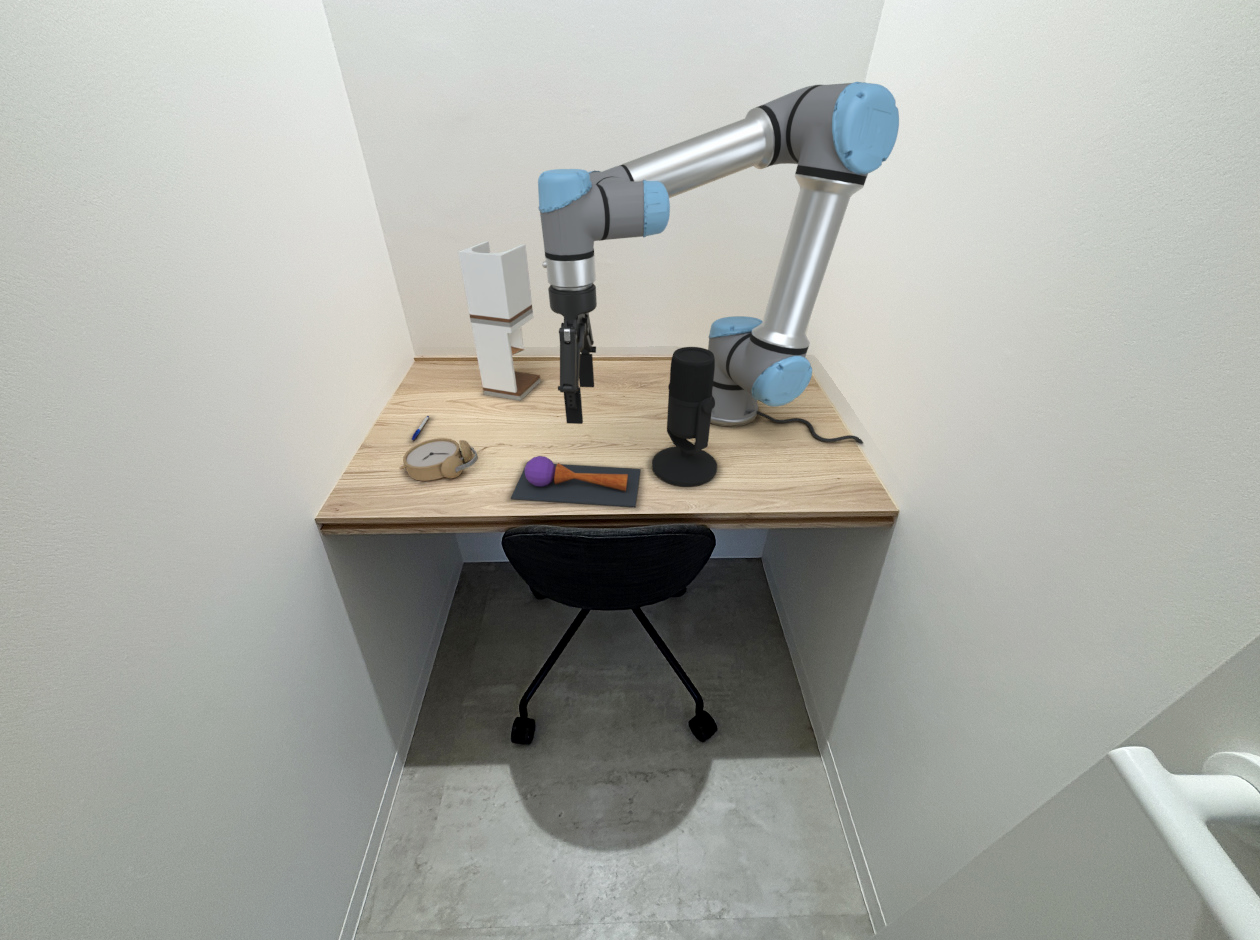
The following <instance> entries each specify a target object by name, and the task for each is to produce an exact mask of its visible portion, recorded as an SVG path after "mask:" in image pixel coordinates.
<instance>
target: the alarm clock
mask: <svg viewBox="0 0 1260 940" xmlns="http://www.w3.org/2000/svg"><path fill="white" fill-rule="evenodd" d="M473 454H474V456H473V458H472V455H473ZM463 461H464V462H465V463H463ZM477 461H478V453H477V451H476V450H475V448H474V447H472V446H471V445H470V443H469V442H468V441H467V440H464V439H459V440H458V442H457V440H455V439H452V438H445V437H437V438H432V439H427V440H424V441H422V442H419V443H417V444H415V445H413V446H412V447H410V448H409V449H408V450H407V451H406V452H405V453H404V455H403V457H402V463H403V464H404V465H402V466H400V467H399V470H405V469H406V472H407V474H408V476H409V477H410V479H413V480H416V481H422V482H425V481H435V480H438V479H442V478H444V477H445V478H446V479H456V478H458V477H459V476H460V475H461V474H462V472H463V470H464V469H468V468H470V467H472V466H473V465H474V464H476V462H477Z"/></svg>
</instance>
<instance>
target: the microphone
mask: <svg viewBox="0 0 1260 940" xmlns="http://www.w3.org/2000/svg"><path fill="white" fill-rule="evenodd" d="M670 360H671V361H670V371H669V383H668V387H667V388H668V398H667V400H668V401H667V416H666V417H667V418H666V432H667V434H668V436H669V438H670V440H671V442H672V444H673V446H669V447H666V448H664V449H661V450H660V451H658V452H657V453H656V454H655V455H654V456H653V458H652V461H651V469H652V472H653V474H654V475H655V476H656V477H657V478H658V479H659V480H661V481H662V482H664V483H666V484H669V485H671V486H675V487H681V488H692V487H699V486H702V485H705V484H708V483H710V482H711V481H712V480H713V479H714V478H715V477H716V475H717V472H718V463H717V461H716V459H715V457H714V456H712V455H711V454H710V453H709V452H707V451H706V450H705V449H707V448H708V446H709V438H710V437H709V436H710V429H711V423H710V422H711V413H712V409H713V408H714V407H715V399H714V397H713V396H712V389H713V380H714V370H715V358H714V354H713V353H712V352H711V351H709V350H708V348H704V347H700V346H683V347H679V348H677V349H676V350H674V351H673V353H672V356H671V359H670ZM693 439H694V443H693V442H691V441H690V440H693Z"/></svg>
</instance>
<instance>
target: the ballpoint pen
mask: <svg viewBox="0 0 1260 940" xmlns="http://www.w3.org/2000/svg"><path fill="white" fill-rule="evenodd" d="M429 416H430V415H426V416H425V418H424V419H423V421H422V422H421V424H420V425H419V427H418V428H417V429H416V430H415V431H414V432H413V434H412V437H411V440H412V441H415V440H416V439H417V437H418V436H419V434H420V433H421V430H422V429H423V427H424V426H425V424H426V423H427V421H428V420H429Z"/></svg>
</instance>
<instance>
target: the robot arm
mask: <svg viewBox="0 0 1260 940" xmlns="http://www.w3.org/2000/svg"><path fill="white" fill-rule="evenodd" d="M899 128H900V113H899V108H898V107H897V106H896V99H895V96H894V95H893V93H892V92H891V91H890V89H888V88H887V87H886V86H884V85H882V84H879V83H874V82H873V83H872V82H865V81H863V82H862V81H854V82H846V83H832V84H831V83H830V84H813V85H812V84H811V85H808V86H805V87H802V88H799V89H796V90H794V91H791V92H789V93H787V94H784V95H782V96H780V97H777V98H775V99H772V100H770V101H767V102H766V103H763V104H760V105H757V106H756V107H752V108H751V109H749V110H748V111H747V113H746V114H745V116H744V118H742V119H740V120H737V121H735V122H732V123H729V124H726V125H723V126H721V127H718V128H715V129H713V130H710V131H707V132H704V133H701V134H699V135H696V136H694V137H691V138H689V139H686V140H684V141H681V142H678V143H675V144H672V145H670V146H667V147H664V148H661V149H658V150H657V151H654V152H650V153H648V154H645V155H642V156H639V157H638V158H635V159H632V160H629V161H627V162H624V163H622V164H619V165H616V166H612V167H611V168H608V169H605V170H602V171H601V170H592V171H591V170H590V171H587V170H585V169H581V168H556V169H549V170H545V171H543V172H541V173H540V175H539V176H538V178H537V190H538V192H537V193H538V211H539V217H540V224H541V225H540V226H541V232H542V240H543V249H544V258H545V259H544V260H545V261H542V265H541V266H542V267H543V268H544V269H546V278H547V279H546V280H547V283H548V284H549V286H548V288H547V290H548V299H549V308H550V310H551V311H552V312H553V313H555V314H556V315H557V314H558V315H560V316H562V317H563V322H561V324H560V327H559V329H558V335H559V385H558V386H557V391H559V392H560V393H563V400H564V401H563V402H564V409H565V420H566V421H565V422H566V424H570V425H571V424H572V425H573V424H574V425H575V424H576V425H583V423H584V415H583V405H582V392H581V388H595V375H594V358H593V354H595V353H597V346H595V345H594V344H595V341H594V336H593V330H592V324H591V318H590V313H592V312H593V311H595V310H596V308H597V307H598V306H597V305H598V301H597V299H598V298H597V286H596V285H595V284H594V283H595V282H596V281H597V279H596V278H597V276H596V258H595V257H596V256H595V247H594V245H595V241H596V242H598V241H599V242H600V241H608V240H609V241H610V240H620V239H629V238H631V239H632V238H641V237H642V238H646V237H649V236H654V235H659V234H662V233H664V231H665V230H666V229H667V227H668V224H669V220H670V214H671V203H670V199H671V198H673V197H676V196H679V195H682V194H684V193H687V192H689V191H692V190H694V189H697V188H700V187H703V186H706V185H708V184H710V183H714V182H716V181H718V180H721V179H723V178H726V177H728V176H731V175H734V174H736V173H739V172H742V171H744V170H747V169H750V168H752V167H753V168H755V169H757V170H763V169H766V168H769V167H772V166H776V165H782V164H783V165H784V164H786V165H787V164H789V165H790V164H791V165H792V164H793V165H796V170H795V173H794V178H795V179H796V182H797V184H798V186H799V190H798V191H799V192H798V195H797V197H796V198H797V199H796V203H795V205H794V209H793V213H792V217H791V220H790V223H789V227H788V231H787V233H786V237H785V241H784V243H783V247H782V251H781V255H780V258H779V262H778V265H777V269H776V273H775V276H774V280H773V282H772V287H771V290H770V294H769V297H768V299H767V300H768V301H767V303H766V307H765V311H764V315H763V318H762V319H760V318H758V317H752V316H744V315H743V316H741V315H740V316H739V315H736V316H726V317H721V318H718V319H716V320H714V321H713V322H712V323H711V325H710V329H709V334H708V345H707V350H709V351H711V352H712V353H713V354H714V358H715V370H714V380H713V389H712V396H713V397H714V399H715V407H714V408H713V409H712V413H711V422H710V424H711V425H714V426H719V427H730V428H731V427H733V428H734V427H741V426H745V425H749V424H750V423H752V422H754V421H755V420H756V418H757V417H758V416H760V417H763V418H764V419H767V420H769V421H771V422H773V423H775V424H789V423H794V422H795V423H796V422H797V423H798V422H800V423H802V424H805V425H806V426H807V427H808V428H809V431H810V433H811V435H812V436H813V438H815V440H818V441H820V442H824V443H835V442H840V441H845V440H854V441H856V442H857V443H858V444H861V445H863V444H864V441H863V440H862V439H861V438H860V437H858V436H856V435H842V436H839V437H837V436H836V437H832V438H830V437H829V438H826V437H822V436H821V435H819V434H817V433H816V431H815V429H814V427H813V425H812V423H811V422H810V421H809V420H807V419H804V418H800V417H793V418H786V419H777V418H774V417H772V416H771V415H768V414H766V413H764V412H761V411H759V404H758V402H761V403H762V404H764V405H766V406H768V407H771V408H772V407H773V408H775V407H782V406H785V405H788V404H790V403H792V402H794V400H795V399H797V398H799V397H800V396H801V395H802V394H803V392H805V390H806V389H807V388H808V386H809V384H810V382H811V380H812V376H813V367H812V364H811V363H810V360H808V358H806V356H807V353H808V350H809V347H810V340H809V339H808V337H807V334H806V331H807V328H808V326H809V322H810V320H811V316H812V314H813V311H814V310H813V309H814V307H815V305H816V301H817V298H818V296H819V292H820V290H821V287H822V284H823V281H824V277H825V275H826V272H827V269H828V265H829V262H830V259H831V256H832V254H833V251H834V248H835V244H836V242H837V239H838V236H839V233H840V229H841V226H842V223H843V220H844V218H845V215H846V211H847V208H848V206H849V202H850V199H851V197H852V196H853V195H854V194H856V193H858V192H859V191H861V190H862V189H863V188H864V187H865V184H866V181H867V178H868V176H869V174H871V173H873V172H875V171H876V170H878V169H879V168H880V167H881V166H882V165H883V163H884V162H886V161H887V160H888V159H889V157H890V155H891V154H892V152H893V149H894V147H895V145H896V142H897V140H898V139H897V138H898V136H899V135H898V134H899ZM859 438H860V439H859Z"/></svg>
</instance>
